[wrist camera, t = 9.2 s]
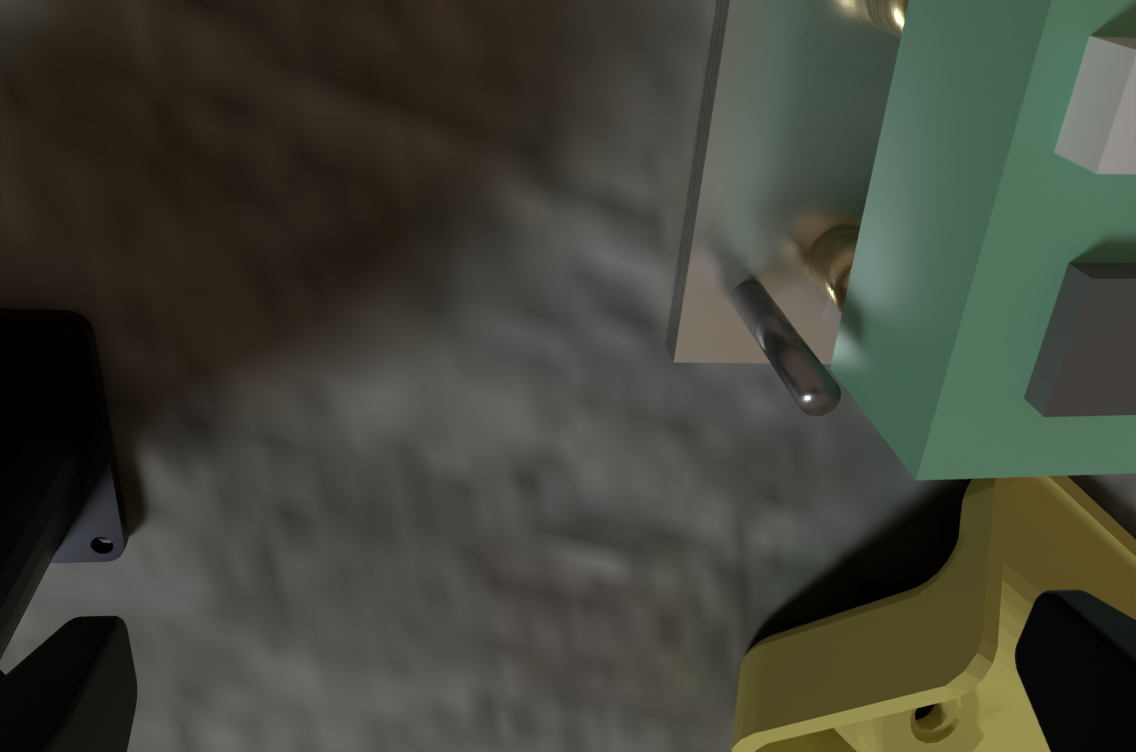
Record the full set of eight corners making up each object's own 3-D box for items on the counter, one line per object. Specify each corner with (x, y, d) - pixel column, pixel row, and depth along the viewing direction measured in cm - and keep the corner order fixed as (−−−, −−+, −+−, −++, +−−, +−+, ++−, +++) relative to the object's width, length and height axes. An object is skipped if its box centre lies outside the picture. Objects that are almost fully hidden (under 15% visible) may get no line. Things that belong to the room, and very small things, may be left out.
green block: (1051, 364, 21) (1218, 505, 16) (829, 368, 20) (943, 516, 16) (1189, -40, 17) (1457, 4, 12) (920, -53, 16) (1105, -12, 12)
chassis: (1046, 352, 24) (1190, 470, 20) (665, 346, 23) (727, 473, 18) (1224, -135, 19) (1476, -125, 15) (745, -185, 18) (858, -193, 13)
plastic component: (693, 748, 27) (1027, 666, 20) (722, 533, 32) (999, 412, 25) (1089, 992, 34) (1435, 990, 27) (1062, 784, 39) (1349, 739, 32)
